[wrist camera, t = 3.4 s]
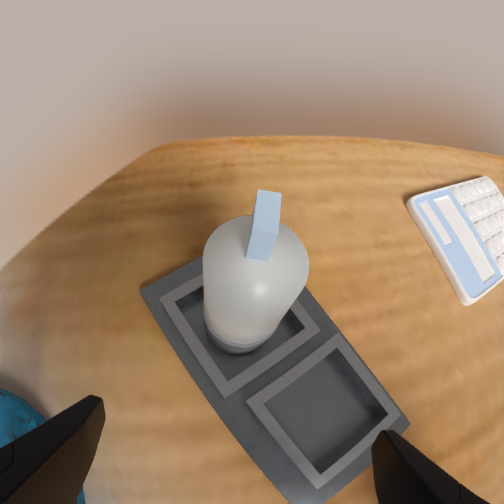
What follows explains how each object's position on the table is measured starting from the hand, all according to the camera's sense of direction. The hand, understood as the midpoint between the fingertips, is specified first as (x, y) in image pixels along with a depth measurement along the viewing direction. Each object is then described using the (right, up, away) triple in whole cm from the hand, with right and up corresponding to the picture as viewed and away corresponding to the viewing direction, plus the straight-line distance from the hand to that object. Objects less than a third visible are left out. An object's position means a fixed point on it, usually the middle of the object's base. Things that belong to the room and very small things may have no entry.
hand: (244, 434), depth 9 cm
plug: (-1, 0, +14) cm, 15 cm away
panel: (+2, -3, +14) cm, 14 cm away
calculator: (+28, +8, +24) cm, 38 cm away
